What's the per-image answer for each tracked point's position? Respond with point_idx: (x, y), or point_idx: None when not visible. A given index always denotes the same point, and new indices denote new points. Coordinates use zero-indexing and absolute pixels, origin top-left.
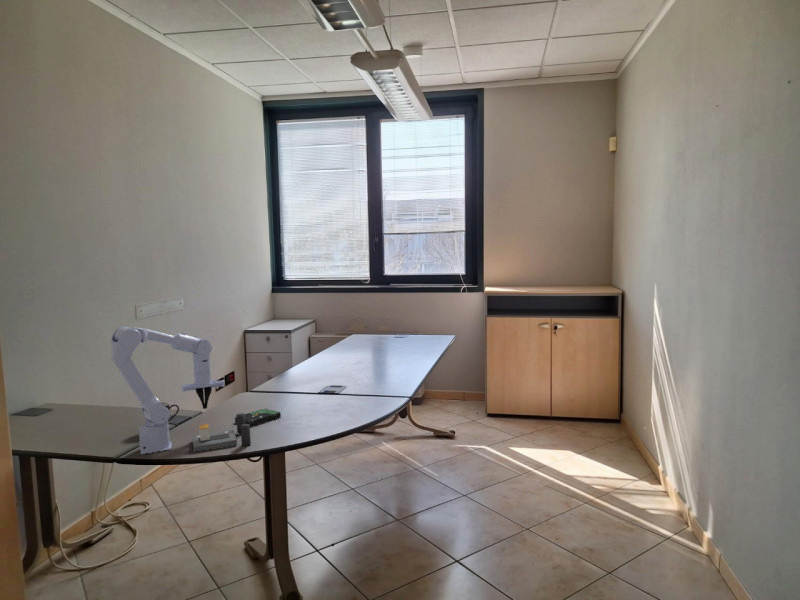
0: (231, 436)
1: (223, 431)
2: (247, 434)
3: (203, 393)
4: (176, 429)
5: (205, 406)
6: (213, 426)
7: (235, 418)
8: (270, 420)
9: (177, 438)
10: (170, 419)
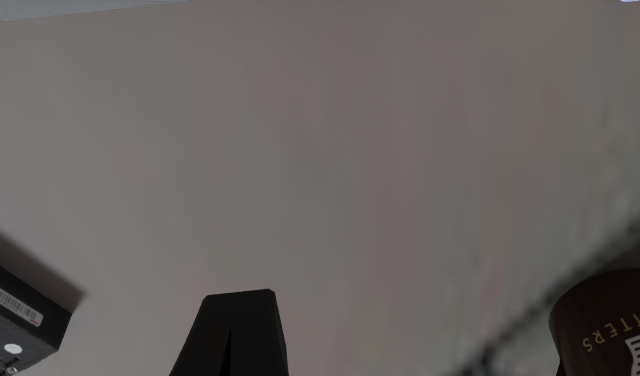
0: None
1: (35, 2)
2: None
3: None
4: (497, 299)
5: (223, 321)
6: (232, 285)
7: (52, 339)
8: None
9: (525, 110)
10: None
